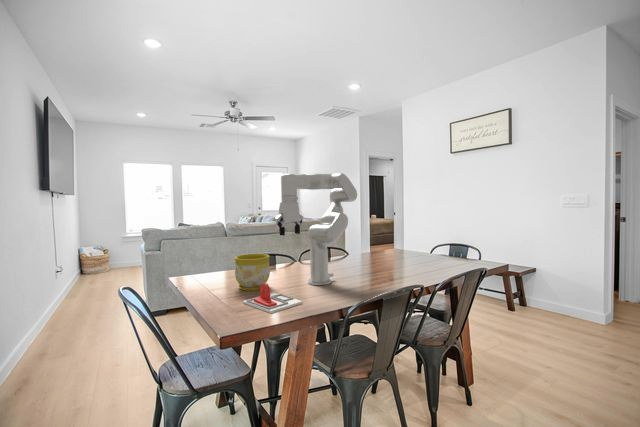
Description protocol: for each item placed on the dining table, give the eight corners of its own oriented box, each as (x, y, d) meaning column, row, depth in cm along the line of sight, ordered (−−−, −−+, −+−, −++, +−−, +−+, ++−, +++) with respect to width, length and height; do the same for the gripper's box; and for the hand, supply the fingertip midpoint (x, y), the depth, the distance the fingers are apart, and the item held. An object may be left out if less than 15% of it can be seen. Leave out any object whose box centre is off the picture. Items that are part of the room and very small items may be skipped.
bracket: (253, 301, 146) (253, 283, 146) (262, 299, 149) (262, 281, 149) (267, 307, 137) (267, 288, 137) (277, 305, 140) (276, 286, 139)
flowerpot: (262, 281, 186) (261, 252, 185) (276, 288, 171) (275, 256, 170) (230, 286, 176) (229, 255, 175) (242, 294, 161) (241, 260, 160)
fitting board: (274, 294, 159) (273, 291, 159) (302, 303, 145) (302, 299, 145) (243, 303, 147) (243, 299, 147) (271, 313, 133) (270, 309, 133)
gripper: (297, 199, 171) (298, 232, 172) (270, 199, 159) (271, 235, 160) (307, 199, 166) (308, 233, 167) (280, 199, 154) (280, 236, 154)
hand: (289, 234), depth 163 cm, fingers open, 9 cm apart
